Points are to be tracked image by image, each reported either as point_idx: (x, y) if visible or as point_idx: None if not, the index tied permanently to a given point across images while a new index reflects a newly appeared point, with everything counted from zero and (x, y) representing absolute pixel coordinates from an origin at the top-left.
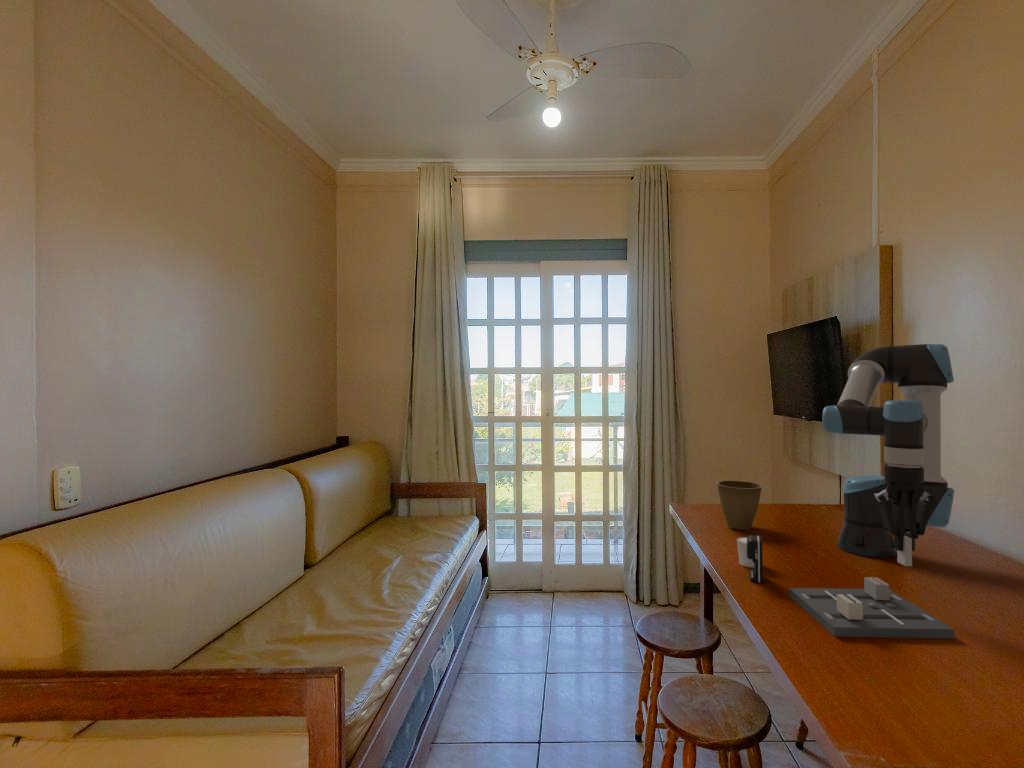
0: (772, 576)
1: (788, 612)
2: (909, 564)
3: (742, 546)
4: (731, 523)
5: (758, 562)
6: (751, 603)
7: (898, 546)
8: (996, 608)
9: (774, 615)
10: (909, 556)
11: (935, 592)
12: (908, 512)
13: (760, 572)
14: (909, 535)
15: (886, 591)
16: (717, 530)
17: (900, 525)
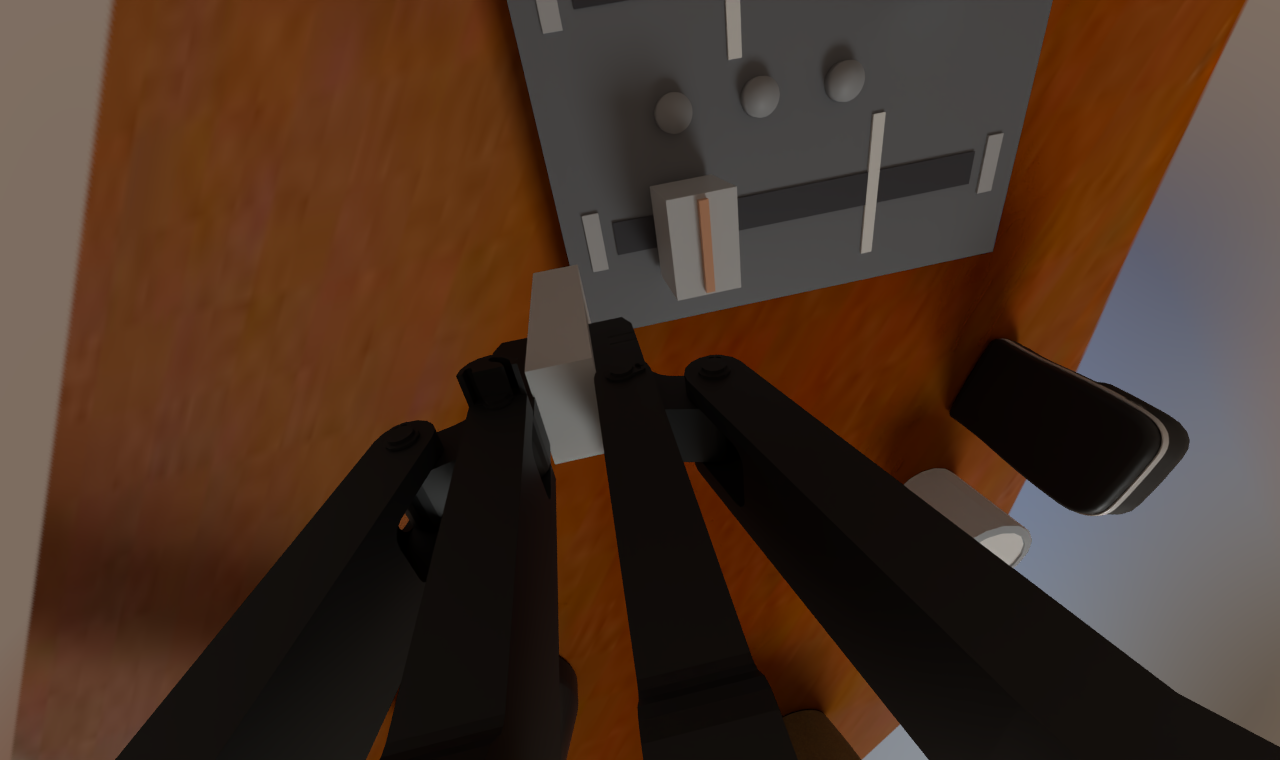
0: (913, 412)
1: (1078, 56)
2: (550, 272)
3: (1016, 521)
4: (833, 726)
5: (1078, 375)
6: (1157, 128)
7: (632, 330)
8: (156, 312)
9: (1158, 5)
10: (550, 293)
11: (378, 418)
12: (529, 673)
13: (1032, 356)
14: (533, 410)
15: (673, 190)
16: (868, 689)
17: (662, 436)
